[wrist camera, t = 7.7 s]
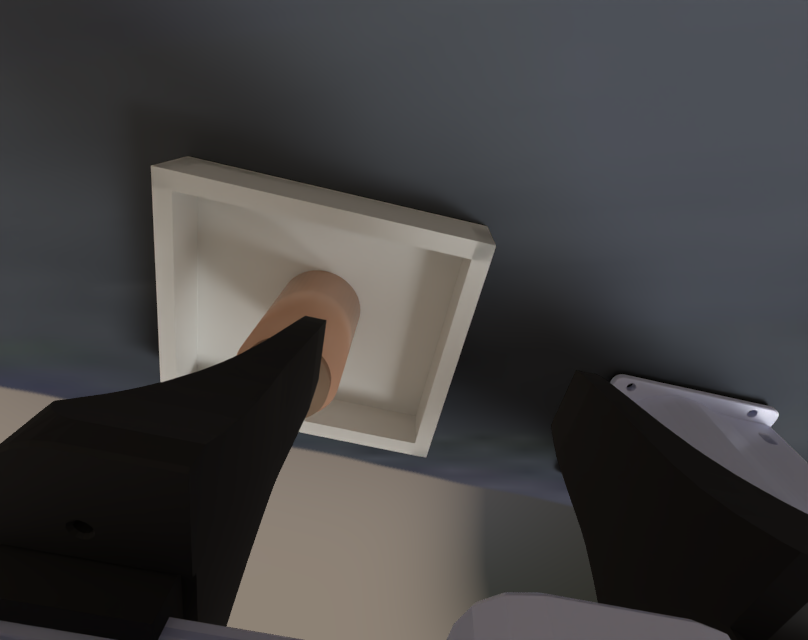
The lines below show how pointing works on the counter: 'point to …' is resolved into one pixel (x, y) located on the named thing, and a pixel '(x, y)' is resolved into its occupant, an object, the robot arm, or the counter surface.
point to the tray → (327, 251)
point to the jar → (324, 301)
